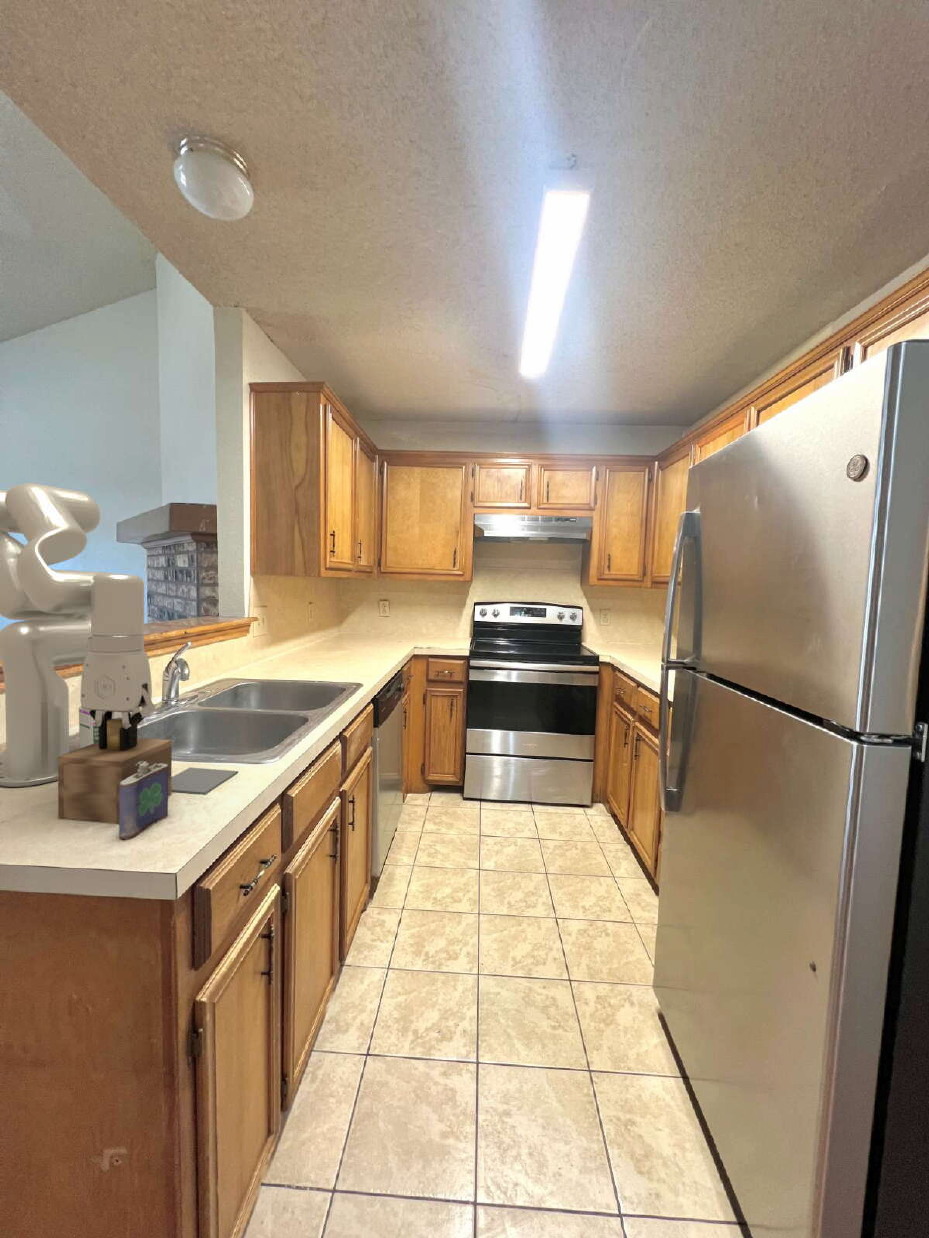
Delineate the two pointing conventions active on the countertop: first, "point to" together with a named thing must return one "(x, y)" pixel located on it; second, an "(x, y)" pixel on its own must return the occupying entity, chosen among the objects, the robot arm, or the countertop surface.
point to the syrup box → (89, 728)
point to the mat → (199, 780)
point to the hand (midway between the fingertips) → (118, 746)
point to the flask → (143, 799)
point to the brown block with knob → (104, 774)
